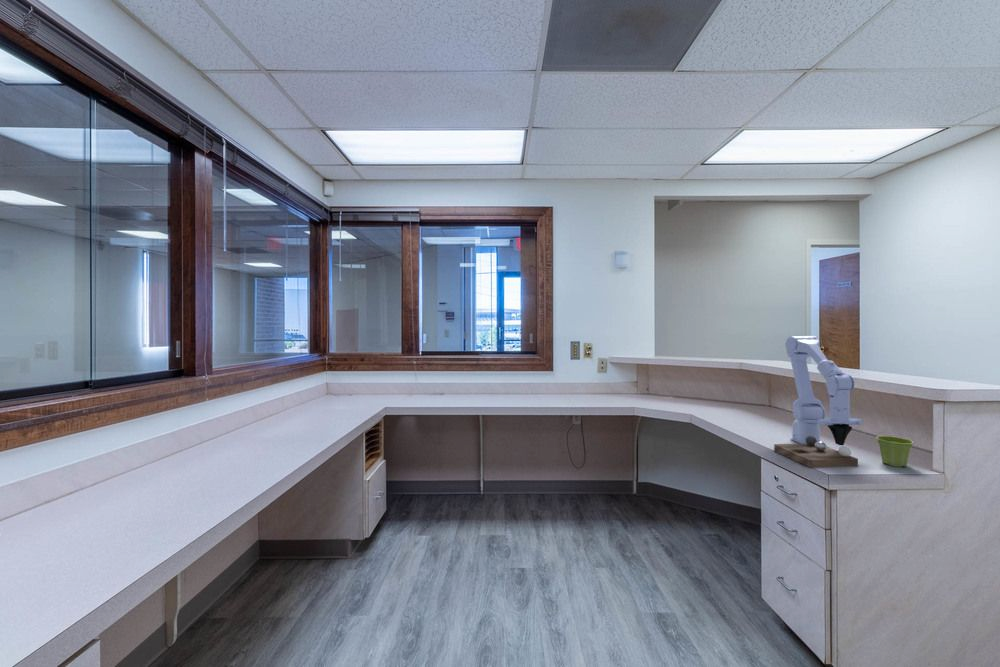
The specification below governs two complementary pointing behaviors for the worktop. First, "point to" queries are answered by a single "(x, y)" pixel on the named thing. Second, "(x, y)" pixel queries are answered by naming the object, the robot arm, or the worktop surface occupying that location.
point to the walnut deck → (815, 455)
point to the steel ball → (820, 446)
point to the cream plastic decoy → (844, 451)
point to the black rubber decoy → (811, 440)
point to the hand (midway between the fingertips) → (839, 444)
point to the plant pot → (894, 450)
